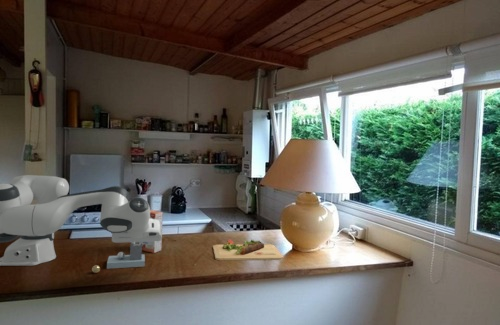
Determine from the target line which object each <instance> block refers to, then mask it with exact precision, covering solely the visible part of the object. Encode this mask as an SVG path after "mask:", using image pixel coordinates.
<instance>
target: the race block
mask: <svg viewBox="0 0 500 325" xmlns="http://www.w3.org/2000/svg"><path fill="white" fill-rule="evenodd" d="M129 243H130V245H129V246H130V247H129V255H130V260H141V259H142V254H143V250H142V243H141V245H140V246H133V245H134V244H132V243H131V242H129Z"/></svg>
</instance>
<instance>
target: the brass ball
mask: <svg viewBox="0 0 500 325" xmlns="http://www.w3.org/2000/svg"><path fill="white" fill-rule="evenodd" d="M91 271H92V273H94V274H96V273H99V272H100V271H101V267H100V265H97V264H95V265H94V266H92V268H91Z"/></svg>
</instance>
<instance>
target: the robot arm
mask: <svg viewBox="0 0 500 325" xmlns="http://www.w3.org/2000/svg"><path fill="white" fill-rule="evenodd" d="M69 190H70V185H69V182H68V180H67V179H66V178H63V177H60V176H59V177H58V176H55V175H35V174H25V175H24V174H23V175H19V176H18V175H17V176H15V177H13V178H12V180H11V181H10V183H0V243H8V242H12V243H11V244H9V245H7V247H6V248H5V251H4V254H3V256H2V257H0V266H31V267H32V266H37V265H39V264H43V263H47V262H51V261H53V260H55V259H56V258H57V255H56V251H55V247H54V246H55V245H54V239H55V233H56V232H57V231H58V230H59V229H61V228H62V227H63V226H64V224H65V223H66V222H67V220H68V218H69V217H70V215H71V214H72V213H74V211H75V210H77V209H80V208H83V207H87V206H93V205H94V206H95V205H101V210H100V218H99V221H100V223H99V224H100V227H101V228H102V229H103V230H105V231H106V232H109V233H111V242H112V243H115V244H116V243H117V244H119V243H132V244H134V245H133V246H140V245H141V243H143V242H151V241H161V240H162V241H163V228H162V229H161V226H160V222H159V220H156V219H151V218H150V210H151V207H150V204H149V203H148V201H147V200H146V199H145V198H143V197H140V196H139V197H137V196H136V197H133V198H132V199H130V193H129V191H127V189H125V188H123V187H122V186H119V185H113V186H109V187H106V188H102V189H97V190H89V191H88V190H87V191H84V192H83V191H81V192H75V193H70V194H68V193H69ZM33 200H36V203H34V204H32V203H33Z"/></svg>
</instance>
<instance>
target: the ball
mask: <svg viewBox="0 0 500 325" xmlns="http://www.w3.org/2000/svg"><path fill="white" fill-rule="evenodd" d="M125 255H126V254H125V252H124V251H119V252H118V253H117V255H116V256H117V257H118V258H119V259H123V258H124V256H125Z"/></svg>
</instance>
